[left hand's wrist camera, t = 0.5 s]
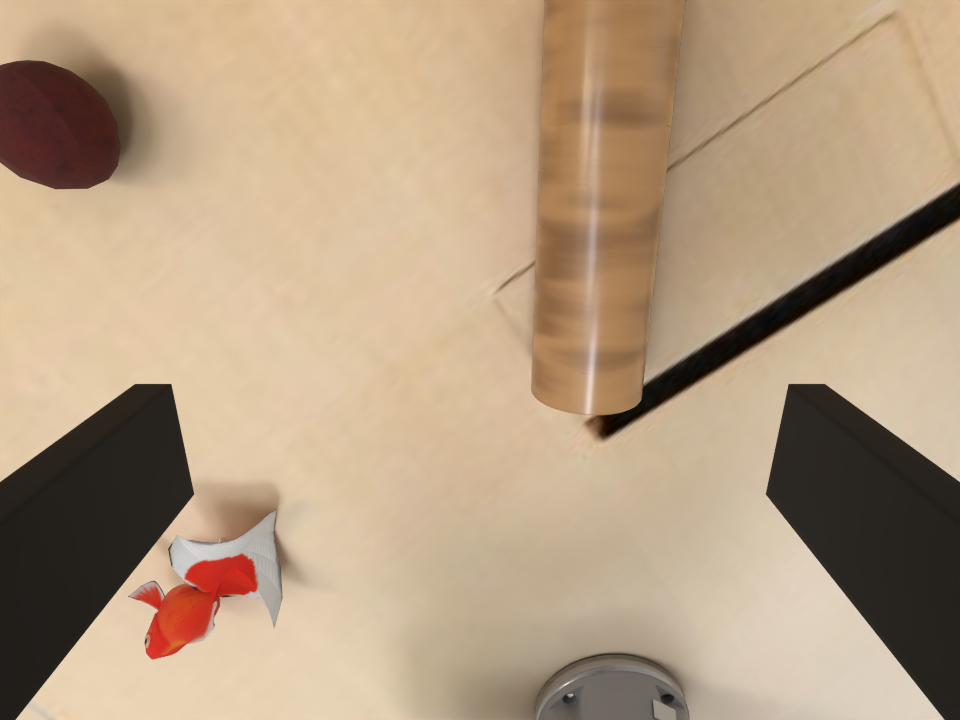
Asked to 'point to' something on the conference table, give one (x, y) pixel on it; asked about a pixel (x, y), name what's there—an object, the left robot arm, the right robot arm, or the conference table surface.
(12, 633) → the left robot arm
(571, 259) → the rod
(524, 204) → the conference table surface
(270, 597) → the fish
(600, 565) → the conference table surface
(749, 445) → the conference table surface
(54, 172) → the dark maroon ball
